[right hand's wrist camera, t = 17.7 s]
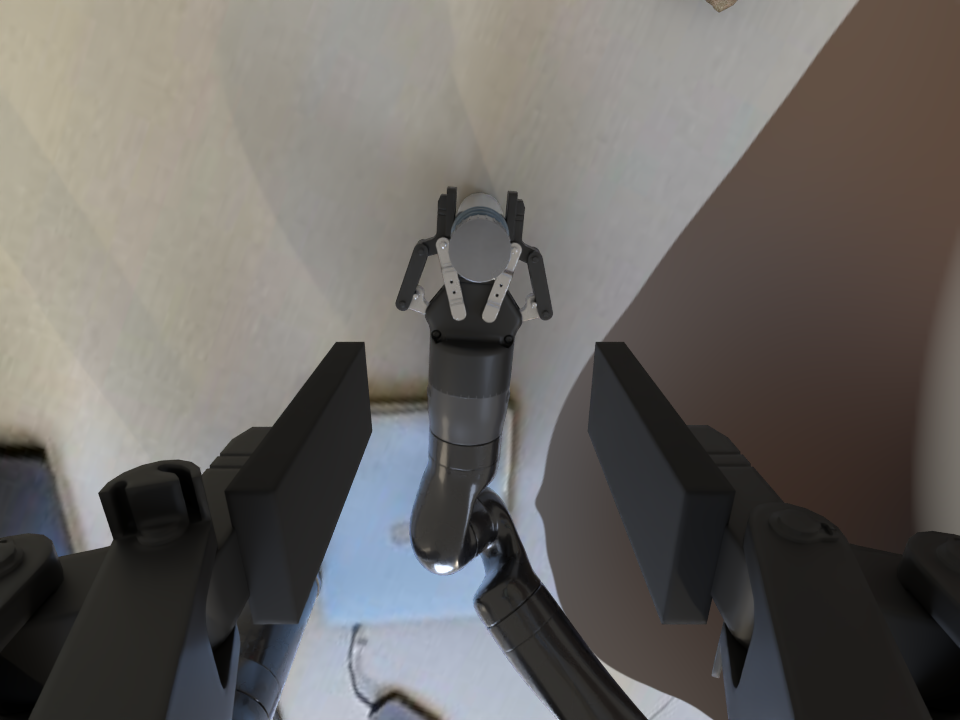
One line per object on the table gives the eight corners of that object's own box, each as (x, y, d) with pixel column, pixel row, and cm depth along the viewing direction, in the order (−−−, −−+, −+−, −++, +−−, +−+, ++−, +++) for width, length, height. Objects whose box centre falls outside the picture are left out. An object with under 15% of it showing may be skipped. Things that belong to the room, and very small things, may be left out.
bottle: (448, 222, 49) (433, 259, 32) (473, 183, 47) (470, 201, 31) (485, 247, 50) (488, 296, 33) (511, 210, 48) (527, 241, 32)
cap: (437, 253, 34) (435, 259, 32) (471, 201, 33) (471, 204, 31) (487, 287, 35) (488, 295, 33) (522, 237, 34) (525, 242, 32)
